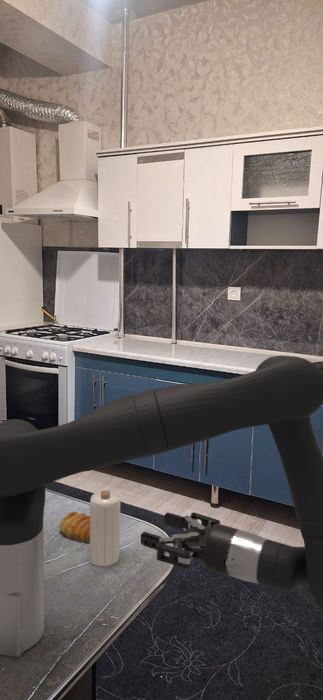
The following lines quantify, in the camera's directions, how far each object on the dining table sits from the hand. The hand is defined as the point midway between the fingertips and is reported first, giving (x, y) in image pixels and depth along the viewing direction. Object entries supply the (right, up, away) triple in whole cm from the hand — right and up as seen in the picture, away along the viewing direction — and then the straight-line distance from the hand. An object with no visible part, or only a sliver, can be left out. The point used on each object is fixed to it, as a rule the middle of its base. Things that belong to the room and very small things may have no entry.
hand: (153, 527), depth 91 cm
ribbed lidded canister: (-10, -8, +7) cm, 14 cm away
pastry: (-16, -7, +16) cm, 24 cm away
